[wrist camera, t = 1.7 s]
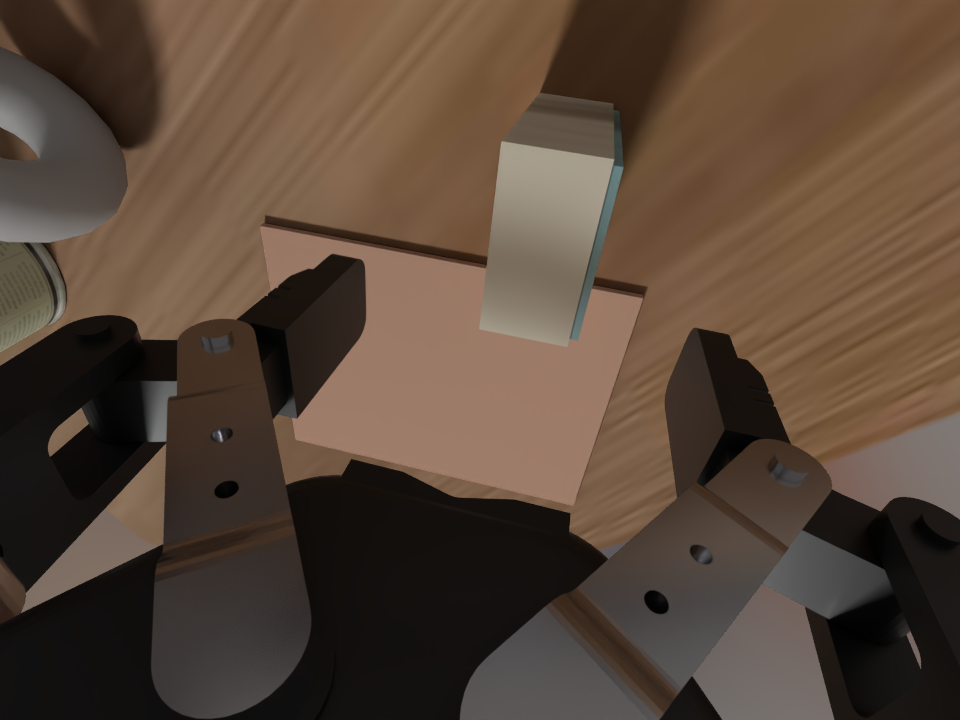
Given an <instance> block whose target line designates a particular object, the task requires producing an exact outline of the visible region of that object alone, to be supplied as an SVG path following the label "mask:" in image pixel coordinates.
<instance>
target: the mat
mask: <svg viewBox="0 0 960 720" xmlns="http://www.w3.org/2000/svg"><path fill="white" fill-rule="evenodd" d="M260 229H261V235H262V241H263V247H264V253H265V259H266V265H267V271H268V277H269V283H270V289H271V291H272V290H273V289H275V288H278V285H279V284H281V283H282V282H283V281H284V280H286V279H287V278H288V277H289V276H291V275H293V274H296V273H298V272H301V271H304V270H306V269H314V268H315V267H316V266H317V265H319V264H320V263H321V262H322V261H323V260H324V259H326V258H327V257H328V256H329V255H330V254H337V255H342V256H347V257H352V258H357V259H361V260H362V261H363V262H364V265H365V277H366V323H365V327H364V330H363V333H362V335H361V337H360V338H359V340H358V341H357V342H356V344H355V345H354V346H353V347H352V349H351V350H350V351H349V353H348V354H347V355H346V356H345V358H344V359H343V360H342V362H341V363H340V364H339V366H338V367H337V368H336V369H335V371H334V372H333V373H332V375H331V376H330V377H329V378H328V380H327V381H326V382H325V384H324V385H323V386H322V388H321V389H320V390H319V391H318V393H317V394H316V395H315V397H314V398H313V399H312V400H311V402H310V403H309V404H308V406H307V407H306V408H305V410H304V411H303V412H302V413H301V415H300V416H299V417H298V419H295V418H292V420H293V426H294V432H295V438H296V440H299V441H304V442H308V443H312V444H316V445H320V446H325V447H329V448H333V449H337V450H341V451H346V452H350V453H354V454H358V455H362V456H367V457H371V458H375V459H379V460H383V461H388V462H392V463H396V464H400V465H404V466H409V467H413V468H417V469H421V470H425V471H430V472H434V473H438V474H442V475H446V476H451V477H455V478H459V479H463V480H467V481H472V482H476V483H480V484H484V485H488V486H493V487H497V488H501V489H505V490H509V491H514V492H518V493H522V494H526V495H530V496H535V497H539V498H543V499H547V500H551V501H556V502H560V503H564V504H568V505H572V506H574V503H575V500H576V497H577V494H578V491H579V488H580V485H581V482H582V479H583V476H584V473H585V470H586V467H587V464H588V461H589V458H590V455H591V452H592V449H593V446H594V443H595V440H596V437H597V434H598V431H599V428H600V426H601V423H602V420H603V417H604V414H605V411H606V408H607V405H608V402H609V399H610V396H611V393H612V390H613V387H614V384H615V381H616V378H617V375H618V372H619V369H620V366H621V363H622V360H623V357H624V354H625V351H626V348H627V345H628V343H629V340H630V337H631V334H632V331H633V328H634V325H635V322H636V319H637V316H638V313H639V310H640V307H641V304H642V301H643V295H642V294H637V293H632V292H626V291H621V290H616V289H611V288H605V287H600V286H595V285H593V286H592V289H591V293H590V297H589V301H588V305H587V308H586V312H585V316H584V320H583V324H582V327H581V331H580V335H579V339H578V341H577V340H572V339H569V343H568V347H564V346H559V345H554V344H550V343H545V342H540V341H535V340H530V339H525V338H520V337H515V336H510V335H505V334H500V333H495V332H490V331H486V330H481V329H479V326H480V318H481V309H482V301H483V293H484V284H485V276H486V267H487V265H483V264H478V263H473V262H468V261H462V260H457V259H452V258H446V257H441V256H436V255H430V254H425V253H420V252H415V251H409V250H404V249H399V248H393V247H388V246H383V245H377V244H372V243H367V242H362V241H356V240H351V239H346V238H340V237H335V236H330V235H324V234H319V233H314V232H309V231H303V230H298V229H293V228H287V227H282V226H277V225H271V224H266V223H264V224H262V225H260Z"/></svg>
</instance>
